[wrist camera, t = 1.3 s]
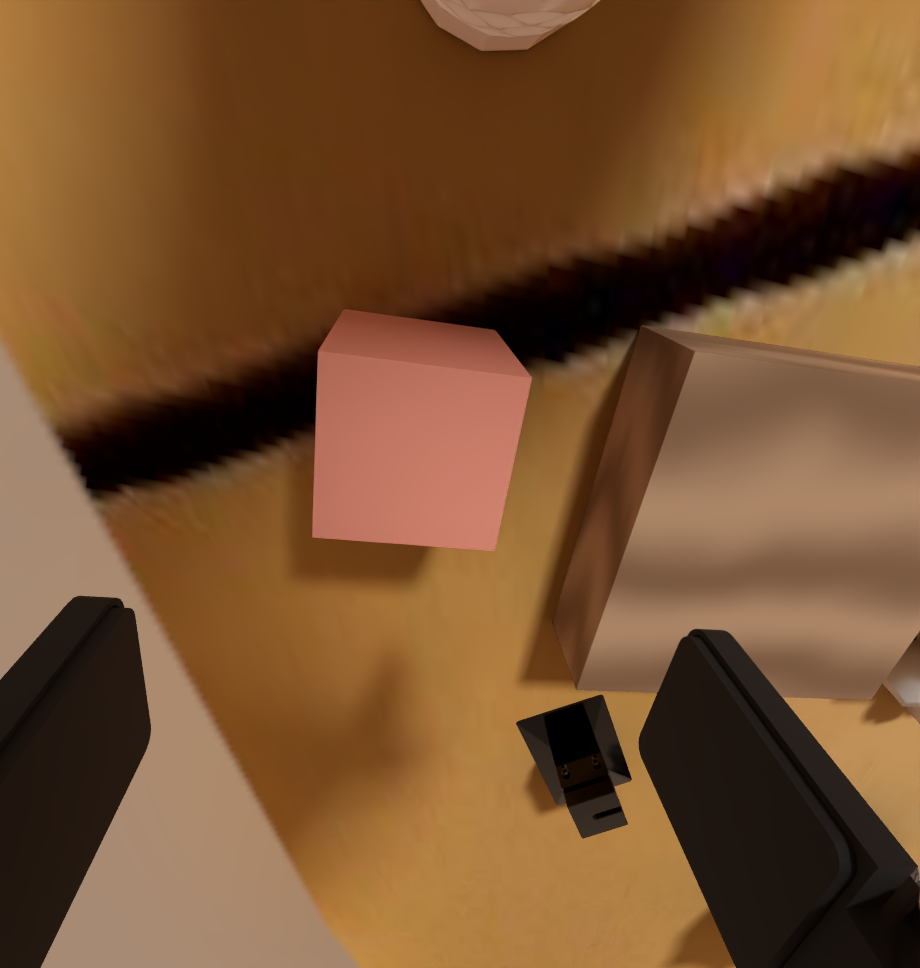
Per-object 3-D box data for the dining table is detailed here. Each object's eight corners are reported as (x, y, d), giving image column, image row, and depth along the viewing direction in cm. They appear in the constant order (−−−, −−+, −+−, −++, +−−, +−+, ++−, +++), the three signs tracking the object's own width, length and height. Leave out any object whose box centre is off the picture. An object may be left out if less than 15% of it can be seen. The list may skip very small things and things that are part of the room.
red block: (344, 308, 20) (318, 350, 14) (494, 329, 21) (532, 378, 15) (336, 449, 23) (312, 537, 17) (471, 463, 24) (494, 551, 18)
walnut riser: (637, 323, 22) (695, 351, 18) (957, 371, 25) (1079, 406, 20) (550, 617, 29) (576, 689, 25) (805, 631, 32) (870, 700, 27)
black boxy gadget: (644, 782, 37) (673, 851, 33) (546, 813, 38) (564, 885, 34) (606, 666, 32) (636, 733, 28) (492, 705, 32) (505, 776, 28)
